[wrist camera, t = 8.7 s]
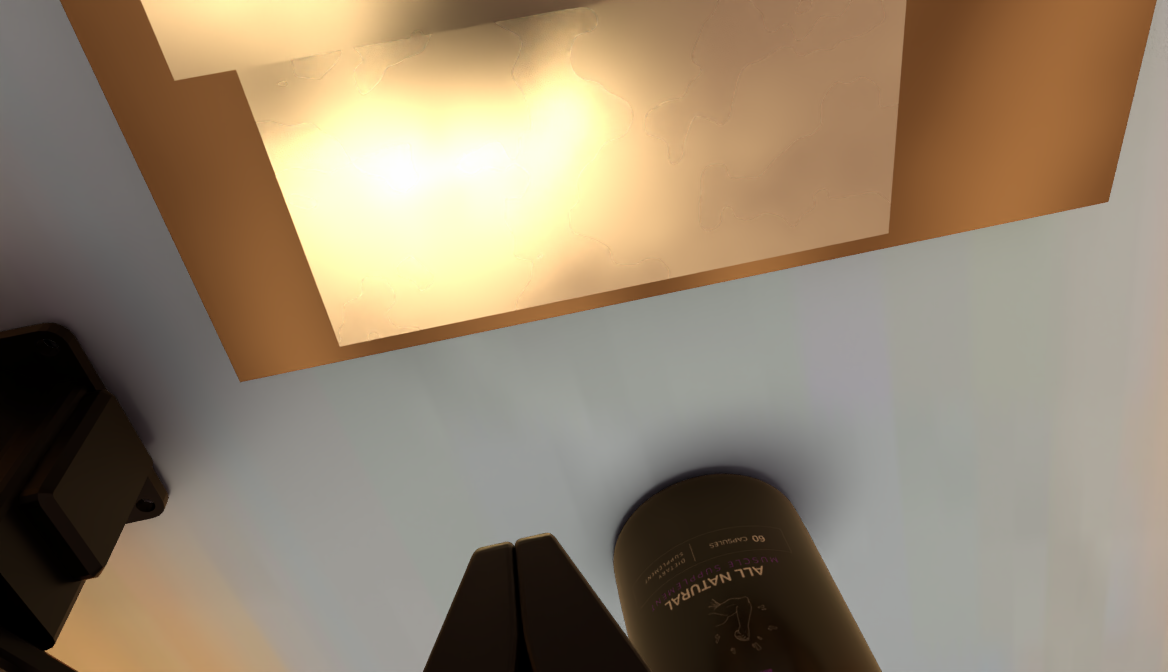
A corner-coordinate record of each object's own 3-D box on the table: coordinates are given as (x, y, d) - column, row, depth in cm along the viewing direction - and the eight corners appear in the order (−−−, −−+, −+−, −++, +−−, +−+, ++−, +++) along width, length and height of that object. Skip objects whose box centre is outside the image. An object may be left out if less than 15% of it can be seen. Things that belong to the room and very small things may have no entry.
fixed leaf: (344, 326, 20) (322, 433, 16) (159, -181, 14) (57, -196, 10) (869, 217, 21) (965, 296, 17) (902, -301, 15) (1059, -356, 11)
